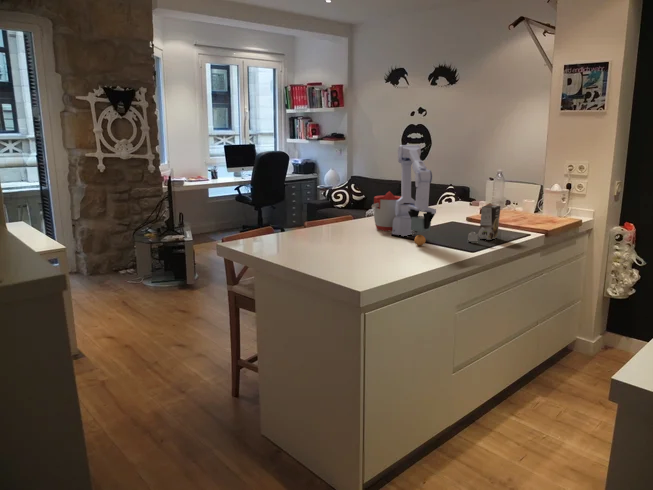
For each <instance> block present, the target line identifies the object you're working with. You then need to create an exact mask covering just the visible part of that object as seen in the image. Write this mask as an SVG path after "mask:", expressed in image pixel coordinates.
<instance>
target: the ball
mask: <svg viewBox="0 0 653 490" xmlns="http://www.w3.org/2000/svg"><path fill="white" fill-rule="evenodd" d="M426 241H427V240H426V237H425V236H424V235H422V234H418V235H415V237H414V243H415V245H416V246H418V247H421V246H424V245H425V243H426Z"/></svg>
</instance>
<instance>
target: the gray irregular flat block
mask: <svg viewBox="0 0 653 490" xmlns="http://www.w3.org/2000/svg"><path fill="white" fill-rule="evenodd" d="M484 230H485V229H484V228H483V227H482V228H481V229H480V228H479V230H478V233H476V232H475V231H471V232H470V233H468V236H467V241H468V240H469V241H478V240H479V236H481V234H482V233H483V231H484Z"/></svg>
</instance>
